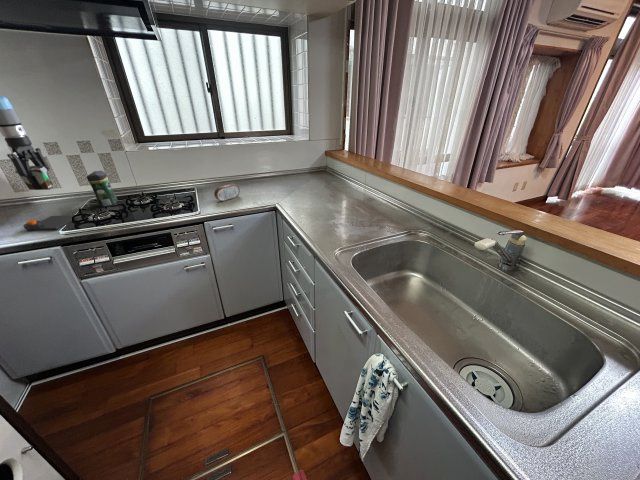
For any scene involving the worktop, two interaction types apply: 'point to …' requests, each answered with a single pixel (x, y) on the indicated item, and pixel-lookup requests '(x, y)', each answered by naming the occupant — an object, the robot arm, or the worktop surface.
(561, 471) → the worktop surface
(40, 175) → the food container
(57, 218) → the scale
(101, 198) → the coffee jar
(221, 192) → the tin
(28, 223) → the tare button
